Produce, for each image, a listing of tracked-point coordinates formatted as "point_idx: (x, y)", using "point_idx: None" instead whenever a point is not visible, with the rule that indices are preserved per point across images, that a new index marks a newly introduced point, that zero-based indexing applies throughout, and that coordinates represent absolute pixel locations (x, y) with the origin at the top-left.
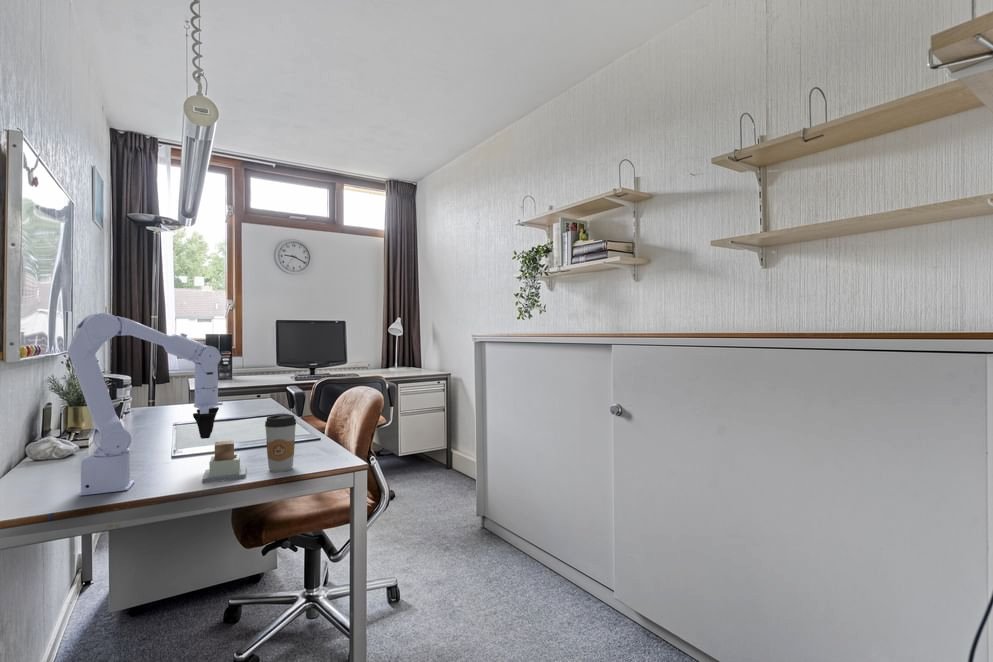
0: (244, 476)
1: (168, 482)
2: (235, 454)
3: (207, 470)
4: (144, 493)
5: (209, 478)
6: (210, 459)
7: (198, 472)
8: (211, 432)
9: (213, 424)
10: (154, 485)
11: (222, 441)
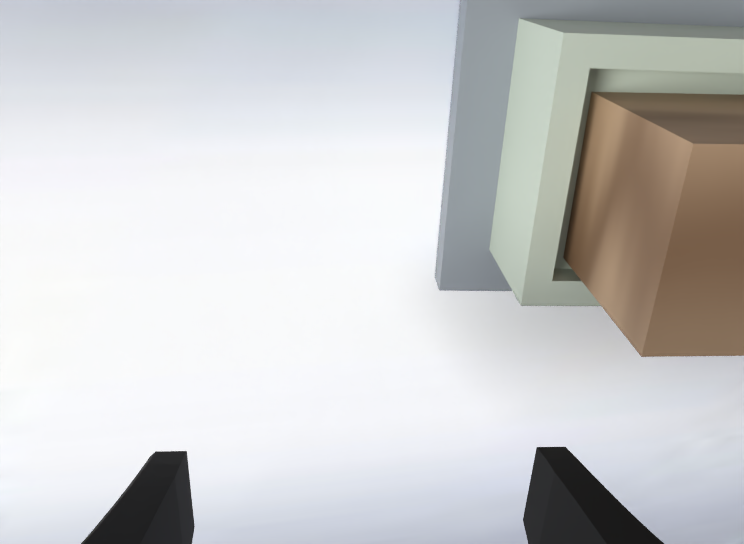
0: None
1: None
2: (572, 83)
3: (476, 276)
4: (707, 523)
5: None
6: None
7: (375, 324)
8: (186, 457)
9: (144, 530)
10: None
11: (667, 284)
